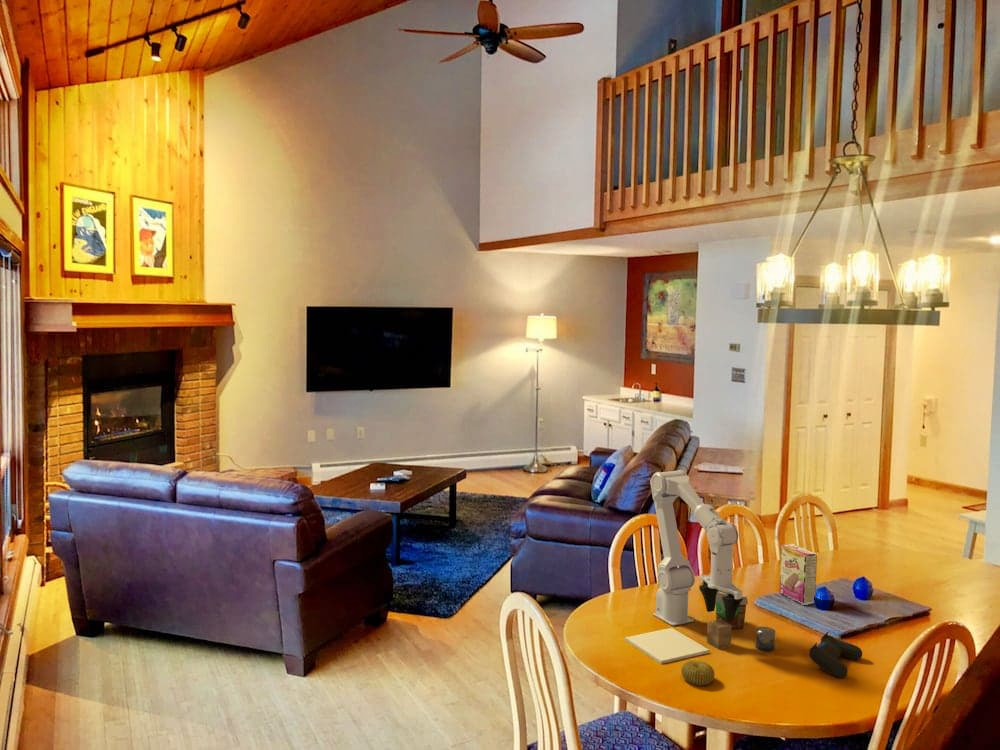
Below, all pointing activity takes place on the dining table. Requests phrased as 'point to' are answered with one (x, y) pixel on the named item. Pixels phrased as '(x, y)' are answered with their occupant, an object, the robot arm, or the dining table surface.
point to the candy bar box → (798, 573)
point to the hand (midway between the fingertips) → (719, 616)
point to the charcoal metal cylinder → (765, 639)
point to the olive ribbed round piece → (697, 672)
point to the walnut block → (719, 634)
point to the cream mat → (666, 645)
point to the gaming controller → (834, 655)
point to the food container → (739, 615)
